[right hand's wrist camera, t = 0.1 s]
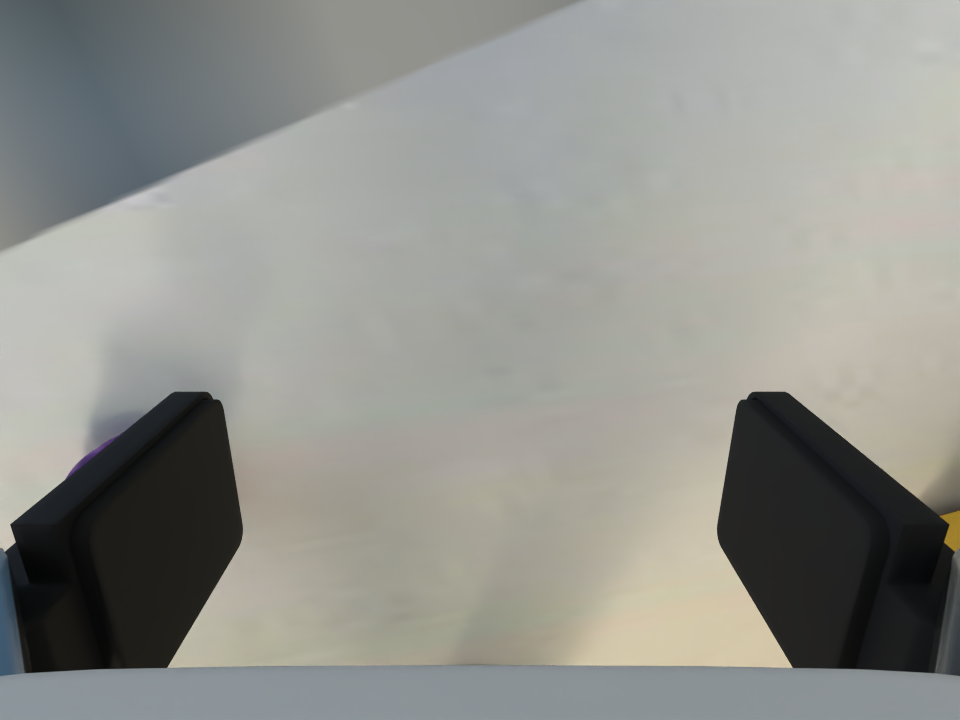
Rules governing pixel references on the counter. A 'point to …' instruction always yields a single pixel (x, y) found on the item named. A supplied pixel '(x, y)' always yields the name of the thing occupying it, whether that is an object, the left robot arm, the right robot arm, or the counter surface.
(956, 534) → the drawer
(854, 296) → the counter surface
